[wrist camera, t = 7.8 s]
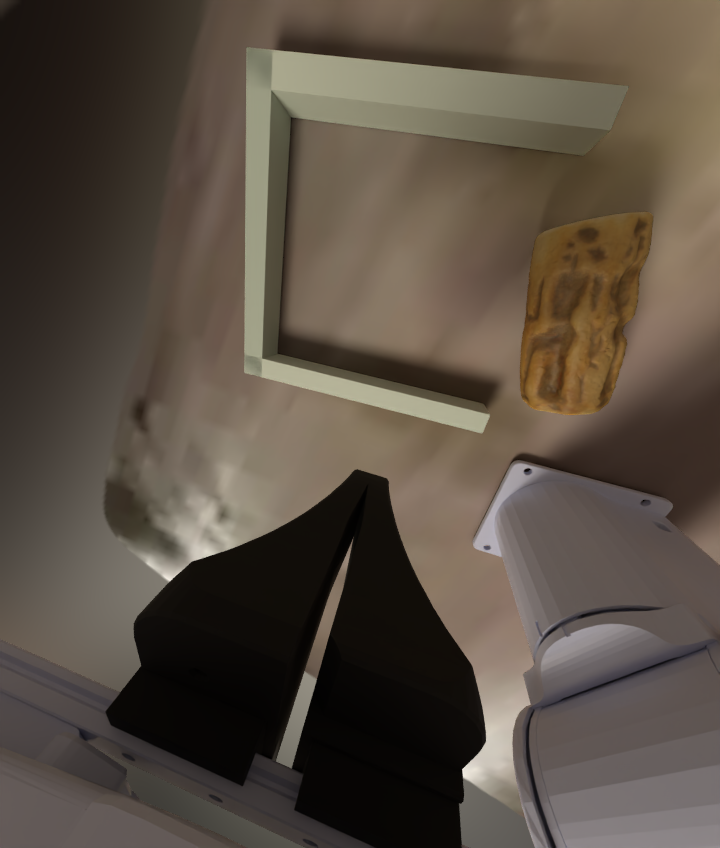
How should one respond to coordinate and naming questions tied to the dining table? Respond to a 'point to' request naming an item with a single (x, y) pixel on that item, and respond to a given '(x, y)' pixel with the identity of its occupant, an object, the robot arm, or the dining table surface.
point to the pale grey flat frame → (397, 111)
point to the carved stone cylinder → (581, 310)
